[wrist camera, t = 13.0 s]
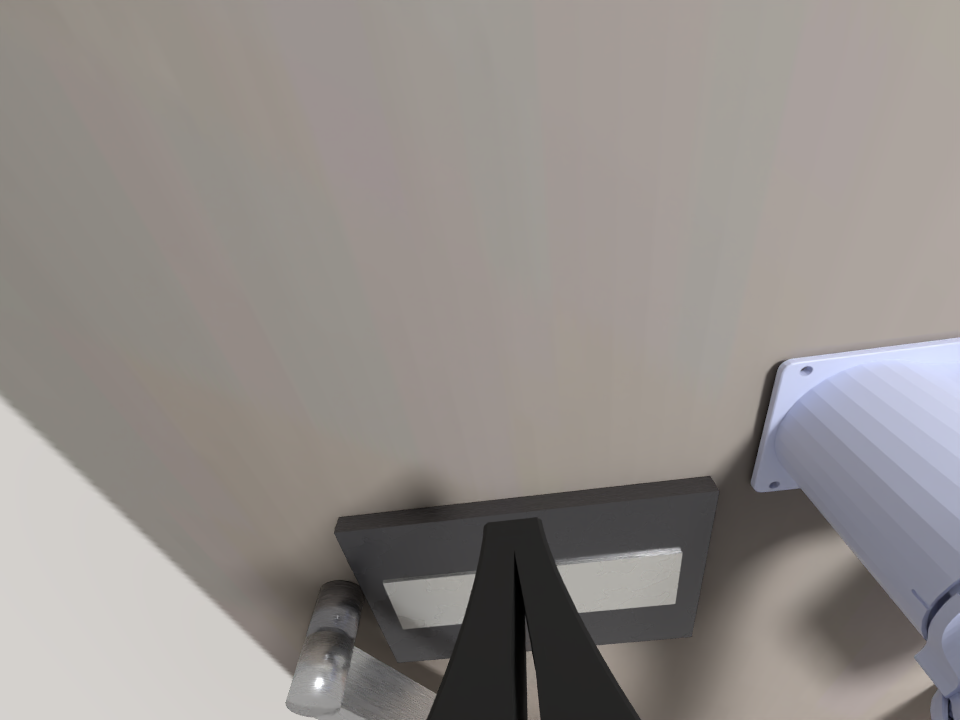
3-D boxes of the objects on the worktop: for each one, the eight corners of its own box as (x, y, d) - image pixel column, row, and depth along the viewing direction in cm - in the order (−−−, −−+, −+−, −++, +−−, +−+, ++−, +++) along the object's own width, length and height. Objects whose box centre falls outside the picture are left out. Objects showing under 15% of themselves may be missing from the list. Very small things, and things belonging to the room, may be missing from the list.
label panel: (710, 476, 23) (736, 518, 21) (685, 621, 30) (702, 665, 28) (279, 524, 25) (259, 568, 22) (353, 651, 32) (344, 695, 30)
